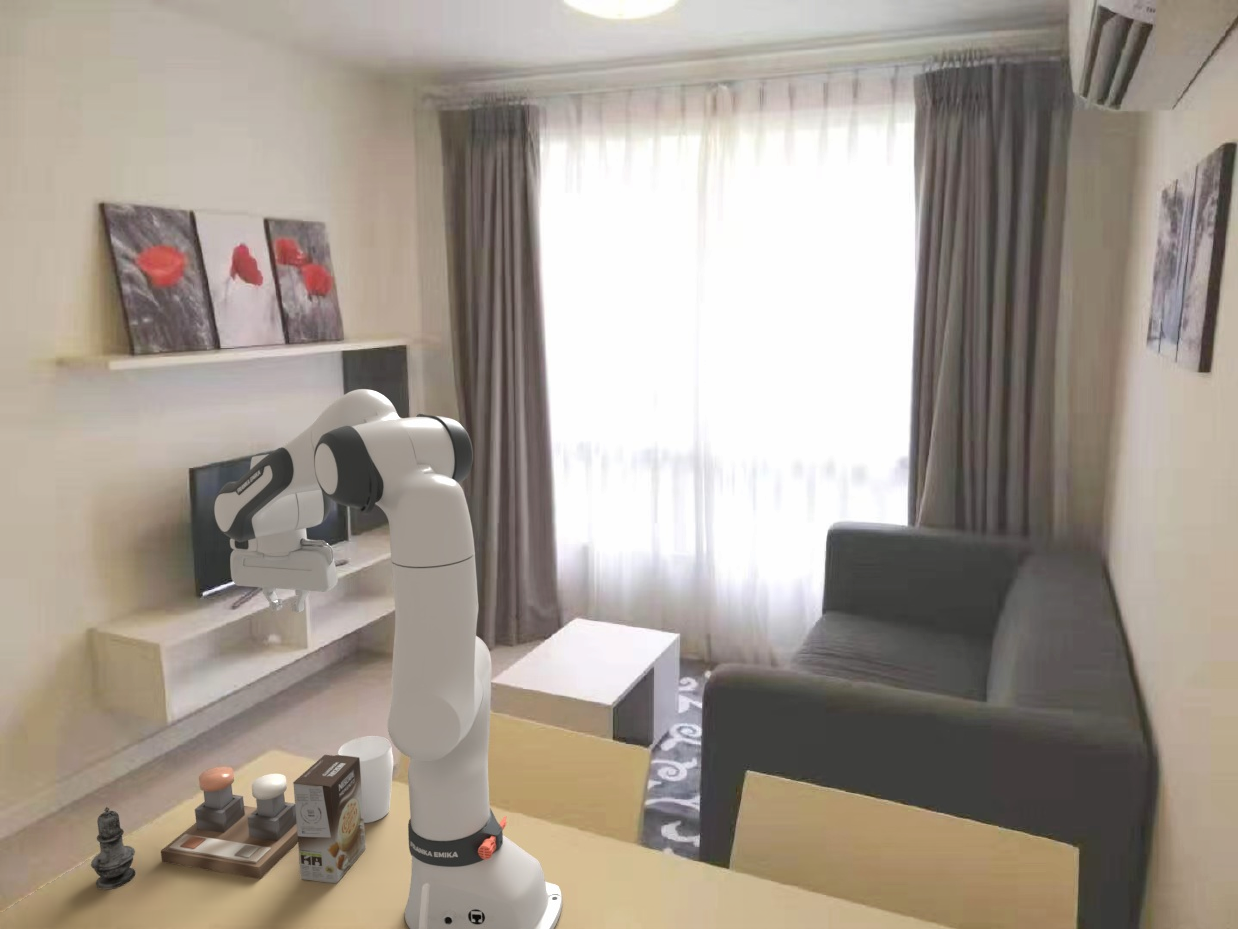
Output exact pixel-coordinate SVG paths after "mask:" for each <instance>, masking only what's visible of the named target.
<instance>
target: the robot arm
mask: <svg viewBox="0 0 1238 929" xmlns="http://www.w3.org/2000/svg"><path fill="white" fill-rule="evenodd" d="M473 461H474V449H473V443H472V440H471V438H470V436H469V433H468V432H467V430H466V429H465V428H464V427H463V426H462V424H461V423H460V422H458V421H457V420H456V419H453V418H450V417H445V416H440V415H439V416H438V415H432V414H429V415H428V414H425V413H424V414H423V413H417V415H416V416H412V417H411V416H410V417H404V418H403V417H400V416H399V414H398V412H397V410H396V408H395V406H394V404H393V403H392V402H391V400H389V398H387V397H386V396H385V395H384V394H382V393H380V392H378V391H376V390H372V389H367V388H361V389H359V388H358V389H353V390H351V391H349V392H347V393H345V394H343V395H341V396H340V397H338V398H337V399H336V400H334V402H332V403H331V404H330V405H329V406H328V407H326V408H325V409H324V410H323V411H322V413H321V414H320V415H319V416H318V417H317V419H316V420H315V421H314V422H313V423H311V425H309V426H308V427H307V428H306V429H304V430H303V431H302V432H301V433H299V434H298V435H296V436H295V437H293V439H290V441H287V442H286V443H285V444H283V445H282V446H281V447H278V448H277V449H275V450H271V451H265V452H259V453H257V454H255V455H253V456H252V457H251V460H250V466H249V467H250V468H249V470H248V471H247V472H246V473H245V474H244V475H243V476H241V478H239V480H237V481H228V482H227V483H225V484H224V485H223V487H222V488H221V489H220V490H219V492H218V493H217V495H216V496H215V498H214V504H213V512H214V520H215V522H216V525H217V527H218V529H219V531H220V532H221V533H223V534H224V535H225V536H227V537H229V538H230V539H229V546H230V548H231V549H232V551H231V553H230V559H229V561H230V564H229V566H230V577H231V581H232V582H233V583H234V584H235V586H237V587H238V586H239V587H251V588H253V587H254V588H261V589H262V594H263V595H264V597H265V598H266V601H268V603H269V610H270V611H273V612H274V611H281V610H282V609H283V599H282V598H278V596H277V593H276V592H275V591H276V590H277V589H278V590H292V591H293V590H294V592H295V593H294V594H295V595H296V596H297V597H296V601H294V602H292V603H291V611H292V613H297V614H298V613H299V614H300V613H302V612H304V611H305V601H306V600H307V597H308V595H309V593H310V592H318V593H319V592H321V593H326V592H329V591H330V590H332V589H334V588H335V587H336V586H337V584H338V583H339V579H338V573H337V566H336V563H335V558H334V549H333V547H332V545H330V544H329V543H327V542H326V541H325V540H324V539H322V540H321V539H317V540H316V539H309V538H308V536H307V528H308V529H309V528H312V527H313V528H314V527H317V526H318V525H322V524H323V523H324V521H326V519H327V518H328V516H329V514H330V512H331V509H332V501H334V502H335V503H336V504H338V505H341V506H345V507H349V508H354V509H355V510H357V511H358V512H359V513H360V514H362V515H365V516H368V515H369V514H370V513H371V512H372V511H373V509H374V507H375V505H376V506H377V507H378V508H380V509H381V510H382V511H383V513H384V514H385V516H386V518H387V520H388V524H389V525H388V526H389V527H388V528H389V538H390V539H389V545H390V546H389V547H390V560H391V561H390V562H391V572H392V587H393V599H394V600H393V601H394V615H395V616H394V618H395V619H394V620H395V622H394V624H395V625H394V639H393V640H394V641H393V649H392V650H393V651H392V652H393V653H392V665H391V667H392V670H391V695H390V705H389V710H388V717H387V733H388V735H389V738H390V741H391V743H392V744H393V745H394V747H395V748H396V749H397V750H398V751H399V752H401V754H403V755H404V756H406V757H408V758H409V762H408V768H407V780H408V781H407V782H408V800H409V812H410V813H409V814H410V818H409V820H408V824H407V825H408V826H407V828H408V829H407V830H408V832H407V833H408V849H409V853H410V855H411V876H410V884H409V885H410V886H409V891H408V898H407V902H406V905H405V909H404V910H405V911H404V918H405V919H404V920H405V922H406V924H407V926H408V928H409V929H555V927H556V925H557V923H558V921H559V918H560V916H561V912H562V908H563V898H562V897H563V896H562V891H561V888H560V887H559V885H557V884H554V883H551V882H547V881H546V877H545V873H544V870H543V867H542V865H541V863H540V862H539V860H538V859H537V858H535V857H534V856H533V855H531V854H530V853H528V852H527V851H526V850H524V849H523V848H521V847H520V846H518V844H516V843H515V842H513V841H512V840H511V839H510V838H508V837H506V836H505V835H504V834H503V830H504V829H505V828H506V826H507V823H508V822H507V816H506V815H504V817H503V818H502V819H501V821H500V822H498V820H497V819H496V816H495V814H494V812H493V811H492V808H491V806H490V789H489V766H488V765H489V759H488V758H489V745H490V744H489V743H490V732H491V731H490V728H491V726H490V725H491V701H492V700H491V698H492V697H491V696H492V692H491V691H492V657H491V653H490V650H489V647H488V646H487V644H486V643H485V642H484V641H483V640H482V638H480V637H479V636H477V625H478V615H479V596H478V594H479V593H478V579H477V567H476V552H475V551H476V550H475V549H476V548H475V540H474V533H473V525H472V521H471V515H470V512H469V511H470V510H469V506H468V503H467V499H466V496H465V492H464V489H463V488H462V486H461V485H460V483H462V482H463V481H464V480H466V479H467V477H468V476H469V474H470V473H471V469H472V465H473Z"/></svg>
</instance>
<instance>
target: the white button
mask: <svg viewBox="0 0 1238 929" xmlns="http://www.w3.org/2000/svg"><path fill="white" fill-rule="evenodd" d="M287 784H288V783H287V776H285V775H284V774H282V773H269V774H265V775H263V776H262V775H261V776H260V777H257V778H255V780H253V782H252V783H251V793H252V794H251V795H252V797H253V798H254V799H256V800H255V802H256V808H257V812H258V815H259V816H265V817H272V818H274V817H275V816H277V815H278V814H279V813H280V812H281V811H282V810H283V809H284V808H285V802H286V801H285V798H286V797H285V792H286V791H287Z"/></svg>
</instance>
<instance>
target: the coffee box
mask: <svg viewBox="0 0 1238 929" xmlns="http://www.w3.org/2000/svg"><path fill="white" fill-rule="evenodd" d="M292 784H293V795H294V796H293V797H294V804H295V810H296V822H297V835H298V843H297V844H298V847H297V848H298V858H299V869H300V871H299V872H300V879H301V880H304V881H305V880H306V881H314V882H315V881H316V882H322V883H329V884H338V883H339V881H341V879H342V878H343V876H344V875H345V874H346V873H347V872H348V870H349V869H350V868H351V867H352V866H353V865H354V864H355V862H356V861H357V859H358V858H360V857H361V855H362V854H363V853H364V852H365V850H366V836H365V835H366V834H365V823H364V818H363V803H362V788H361V773H360V758H359V757H351V756H342V755H338V754H337V755H331V754H324V755H323V756H322V757H320V758H319V759H318V760H317V761H316V762H315V763H313V764H312V765H311V766H310V767H308V769H307V770H306V771H305V772H303V773H302V774H301V775H300V776H299V777H297V778H296V779H295V780H294V781H293V782H292Z"/></svg>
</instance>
